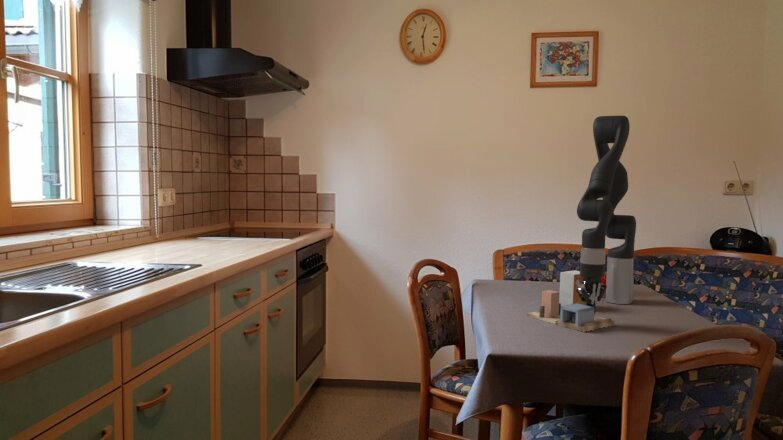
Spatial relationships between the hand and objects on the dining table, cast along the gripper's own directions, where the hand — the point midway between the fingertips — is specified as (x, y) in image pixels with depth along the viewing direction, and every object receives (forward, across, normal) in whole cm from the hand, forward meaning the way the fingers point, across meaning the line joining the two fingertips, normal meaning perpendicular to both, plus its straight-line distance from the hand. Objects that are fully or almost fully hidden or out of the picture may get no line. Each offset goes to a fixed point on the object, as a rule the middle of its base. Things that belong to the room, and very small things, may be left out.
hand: (590, 314), depth 179 cm
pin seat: (+3, -5, +12) cm, 13 cm away
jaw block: (+2, -5, +12) cm, 13 cm away
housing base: (+3, -2, 0) cm, 4 cm away
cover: (+1, -7, 0) cm, 7 cm away
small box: (+3, +14, +18) cm, 23 cm away
